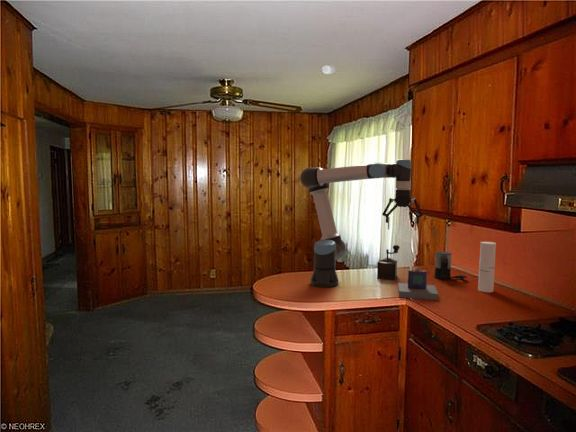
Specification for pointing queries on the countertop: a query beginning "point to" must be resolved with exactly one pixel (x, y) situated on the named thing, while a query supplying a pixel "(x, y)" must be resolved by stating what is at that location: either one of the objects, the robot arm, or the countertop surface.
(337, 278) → the robot arm
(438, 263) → the milk frother
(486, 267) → the cylindrical container
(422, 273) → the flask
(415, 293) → the base board
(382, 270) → the coffee grinder
